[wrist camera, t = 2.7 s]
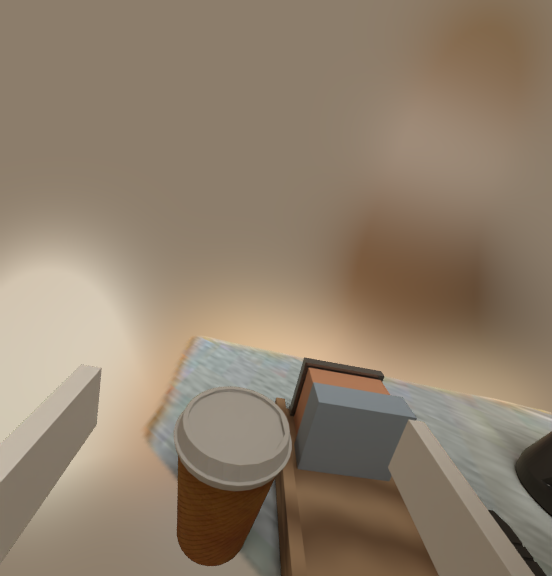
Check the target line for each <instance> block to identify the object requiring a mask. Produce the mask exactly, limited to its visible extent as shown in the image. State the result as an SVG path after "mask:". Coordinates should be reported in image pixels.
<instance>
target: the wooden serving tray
mask: <svg viewBox="0 0 552 576" xmlns="http://www.w3.org/2000/svg"><path fill="white" fill-rule="evenodd" d="M275 404H276V405H278V406H279V408H280V409H281V410H282V411H283V413H284V414H285V416H286V418H287V421H288V423H289V430H290V435H291V440H292V450H291V454H290V458H289V460H288V462H287V464H286V466H285V467H284V468H283V470H282V471H281V472H280V473H279V474H278V475H277V476H276V477H275V479H276V495H277V512H278V528H279V545H280V561H281V576H439V575H438V573H437V570H436V568H435V566H434V564H433V562H432V560H431V558H430V556H429V553H428V551H427V549H426V547H425V545H424V543H423V541H422V539H421V537H420V534H419V532H418V530H417V528H416V526H415V524H414V522H413V520H412V517H411V515H410V513H409V511H408V509H407V507H406V505H405V503H404V500H403V498H402V496H401V494H400V492H399V490H398V488H397V486H396V484H395V481H394V479H393V477H392V476H391V479H390V481H382V480H375V479H368V478H360V477H353V476H345V475H338V474H330V473H323V472H316V471H308V470H301V469H298V468H297V461H296V454H295V447H294V443H295V440H296V437H297V435H296V429H295V422H294V416H290V412H289V409H287V408H286V405H285V399H282V398H276V401H275Z"/></svg>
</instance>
